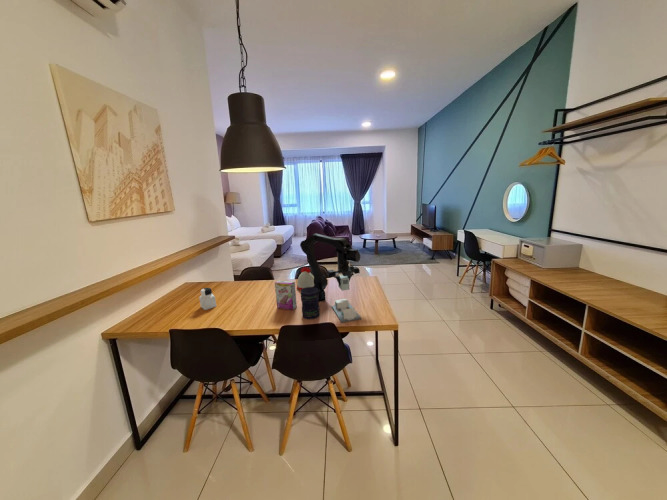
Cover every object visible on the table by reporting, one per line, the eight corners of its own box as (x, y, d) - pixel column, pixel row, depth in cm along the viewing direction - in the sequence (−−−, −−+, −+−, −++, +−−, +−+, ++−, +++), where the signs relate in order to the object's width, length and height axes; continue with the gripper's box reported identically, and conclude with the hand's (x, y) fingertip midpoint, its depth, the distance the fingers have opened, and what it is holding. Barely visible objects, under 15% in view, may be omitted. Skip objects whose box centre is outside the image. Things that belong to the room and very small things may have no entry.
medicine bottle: (212, 303, 173) (209, 285, 171) (216, 306, 168) (213, 288, 166) (200, 307, 168) (197, 289, 166) (204, 310, 163) (201, 291, 161)
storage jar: (309, 310, 157) (307, 285, 154) (323, 313, 152) (321, 288, 149) (298, 317, 149) (296, 292, 145) (313, 321, 144) (311, 294, 140)
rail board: (341, 322, 140) (340, 314, 139) (331, 307, 159) (331, 300, 158) (361, 319, 143) (360, 311, 142) (349, 304, 162) (349, 297, 161)
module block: (342, 290, 155) (341, 279, 154) (338, 286, 162) (337, 275, 160) (349, 289, 156) (349, 278, 155) (345, 285, 163) (345, 274, 162)
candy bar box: (276, 308, 161) (274, 282, 157) (280, 305, 166) (278, 279, 162) (293, 310, 157) (291, 284, 154) (297, 306, 162) (295, 281, 158)
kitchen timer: (310, 291, 186) (308, 270, 183) (293, 289, 192) (291, 268, 188) (319, 284, 198) (318, 265, 195) (303, 282, 204) (302, 263, 201)
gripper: (330, 265, 145) (332, 292, 149) (362, 261, 150) (363, 287, 154) (325, 260, 156) (327, 286, 159) (355, 257, 161) (356, 281, 164)
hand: (343, 285), depth 159 cm, fingers closed on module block, 4 cm apart
